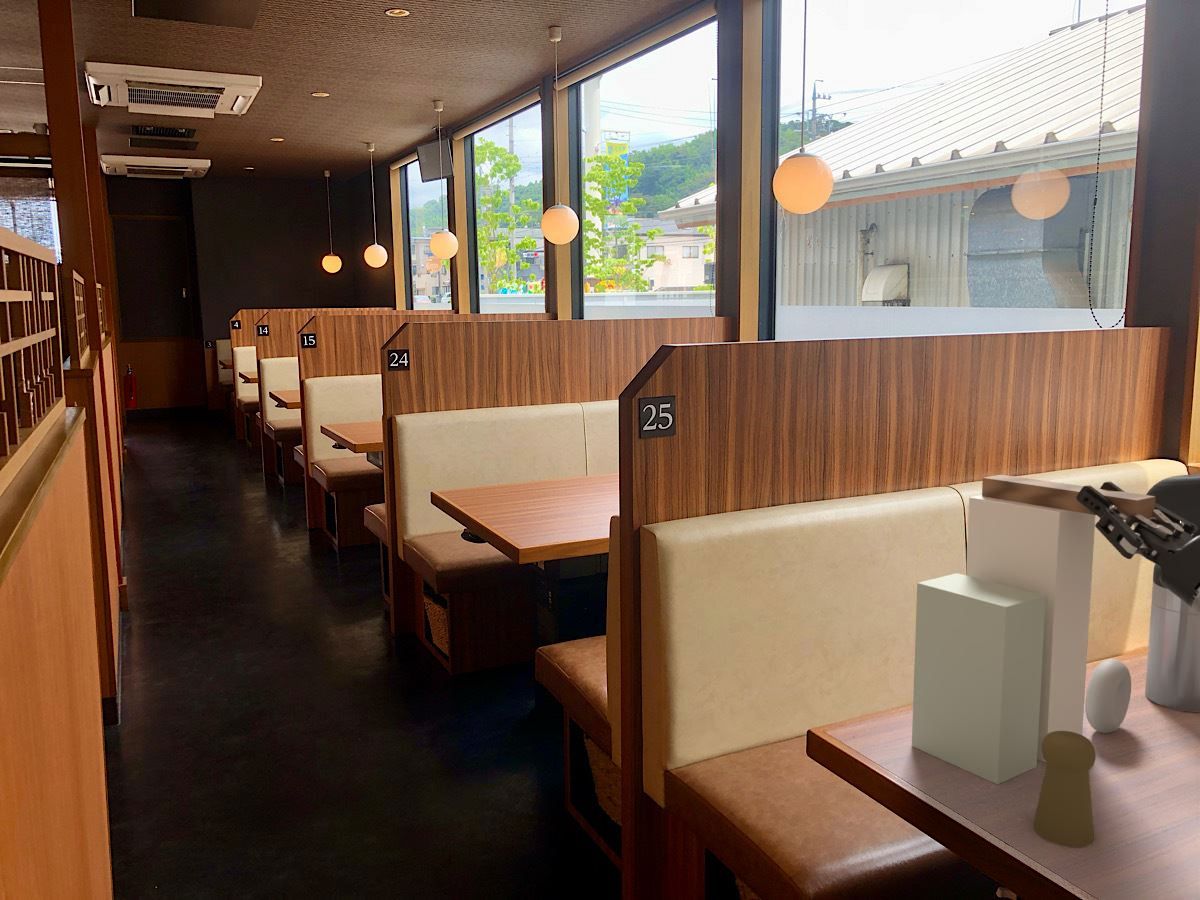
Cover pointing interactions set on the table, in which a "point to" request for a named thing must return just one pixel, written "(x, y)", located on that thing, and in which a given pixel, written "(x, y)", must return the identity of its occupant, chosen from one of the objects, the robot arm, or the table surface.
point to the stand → (1005, 640)
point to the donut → (1108, 695)
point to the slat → (1060, 495)
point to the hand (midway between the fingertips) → (1092, 489)
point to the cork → (1066, 790)
